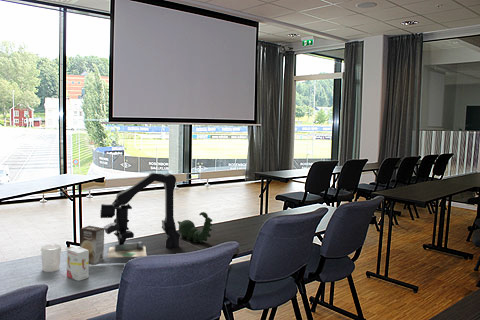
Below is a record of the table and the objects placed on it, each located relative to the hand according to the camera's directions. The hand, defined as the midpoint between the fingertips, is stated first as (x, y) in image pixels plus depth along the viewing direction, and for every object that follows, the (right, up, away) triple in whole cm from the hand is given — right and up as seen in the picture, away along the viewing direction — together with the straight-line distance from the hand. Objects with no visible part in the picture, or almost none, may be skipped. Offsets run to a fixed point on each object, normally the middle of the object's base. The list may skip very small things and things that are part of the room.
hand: (120, 247), depth 206 cm
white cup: (-22, -4, -29) cm, 36 cm away
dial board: (+4, -2, -2) cm, 5 cm away
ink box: (-7, -5, -36) cm, 37 cm away
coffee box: (-9, -3, -17) cm, 19 cm away
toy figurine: (+33, -2, +27) cm, 43 cm away
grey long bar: (+4, -1, 0) cm, 4 cm away
